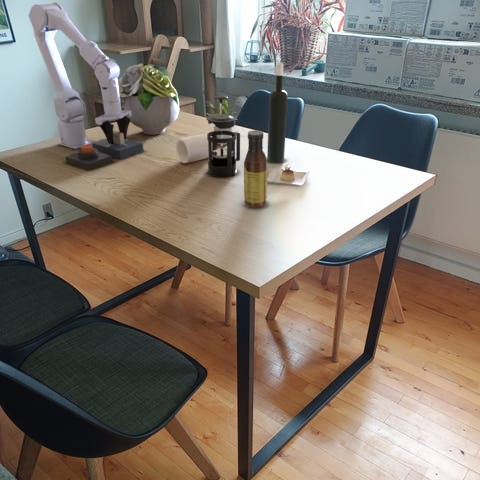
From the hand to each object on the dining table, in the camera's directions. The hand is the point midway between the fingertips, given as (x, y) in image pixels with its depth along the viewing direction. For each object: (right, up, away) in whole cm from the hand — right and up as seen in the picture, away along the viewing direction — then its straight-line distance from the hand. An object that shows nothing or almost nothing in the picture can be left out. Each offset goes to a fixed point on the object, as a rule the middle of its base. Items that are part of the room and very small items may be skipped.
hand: (117, 141), depth 174 cm
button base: (-7, -10, -7) cm, 14 cm away
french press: (+38, -15, -14) cm, 44 cm away
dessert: (+58, -19, -19) cm, 64 cm away
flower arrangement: (+9, +11, +22) cm, 26 cm away
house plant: (+36, +4, +12) cm, 38 cm away
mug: (+27, -8, -4) cm, 28 cm away
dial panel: (0, -3, +2) cm, 3 cm away
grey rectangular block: (0, 0, 0) cm, 0 cm away
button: (-7, -7, -10) cm, 14 cm away
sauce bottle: (+48, -31, -35) cm, 67 cm away
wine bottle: (+56, -8, -5) cm, 56 cm away
